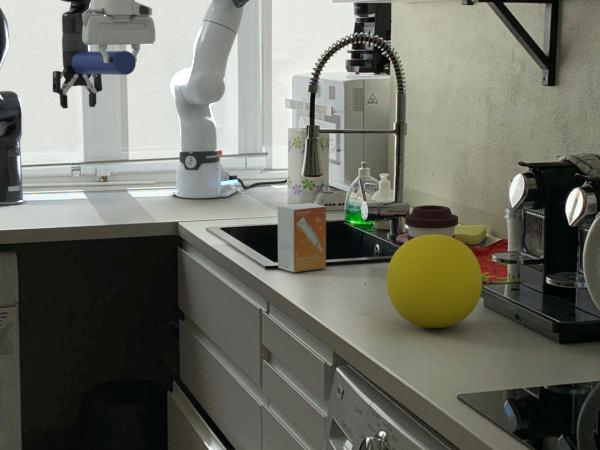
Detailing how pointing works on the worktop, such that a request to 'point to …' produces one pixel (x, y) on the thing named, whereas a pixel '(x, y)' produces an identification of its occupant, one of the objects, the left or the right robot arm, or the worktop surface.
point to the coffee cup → (431, 221)
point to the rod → (94, 63)
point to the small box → (301, 237)
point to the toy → (434, 281)
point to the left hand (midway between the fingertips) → (78, 107)
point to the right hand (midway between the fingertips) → (120, 62)
